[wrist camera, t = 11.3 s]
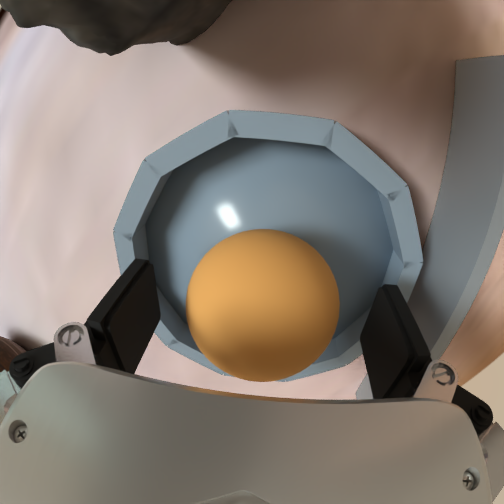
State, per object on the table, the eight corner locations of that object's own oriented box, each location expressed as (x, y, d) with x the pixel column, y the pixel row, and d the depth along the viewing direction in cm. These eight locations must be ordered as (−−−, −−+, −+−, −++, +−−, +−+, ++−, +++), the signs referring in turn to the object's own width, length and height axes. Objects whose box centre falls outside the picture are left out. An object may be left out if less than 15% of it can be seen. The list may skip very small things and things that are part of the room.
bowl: (359, 355, 18) (365, 383, 15) (155, 334, 18) (143, 360, 16) (426, 141, 11) (453, 150, 9) (131, 113, 11) (103, 116, 9)
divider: (366, 392, 20) (374, 438, 16) (355, 393, 20) (362, 439, 16) (469, 67, 8) (526, 66, 4) (455, 60, 8) (512, 54, 4)
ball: (340, 215, 12) (378, 298, 7) (316, 318, 15) (324, 413, 10) (205, 201, 12) (150, 274, 7) (207, 307, 15) (176, 397, 10)
